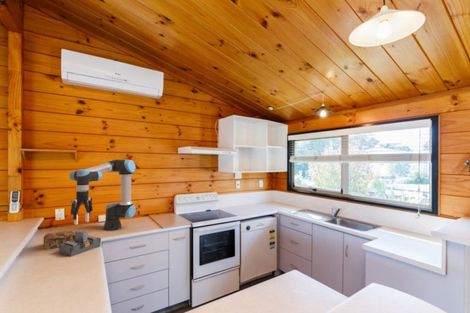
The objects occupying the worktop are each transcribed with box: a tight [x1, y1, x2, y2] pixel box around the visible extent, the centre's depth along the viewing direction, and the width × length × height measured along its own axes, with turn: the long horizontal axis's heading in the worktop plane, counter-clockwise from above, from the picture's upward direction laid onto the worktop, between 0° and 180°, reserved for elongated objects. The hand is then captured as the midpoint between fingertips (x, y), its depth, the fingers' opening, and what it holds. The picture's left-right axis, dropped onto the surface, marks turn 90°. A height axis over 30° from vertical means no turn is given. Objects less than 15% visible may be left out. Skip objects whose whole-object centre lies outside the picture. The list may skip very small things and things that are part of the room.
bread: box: [43, 230, 75, 250], centre depth 175 cm, size 19×11×10 cm, turn 132°
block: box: [74, 229, 89, 243], centre depth 168 cm, size 9×3×10 cm, turn 66°
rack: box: [58, 235, 102, 257], centre depth 167 cm, size 21×14×7 cm, turn 157°
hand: (81, 222), depth 168 cm, fingers open, 7 cm apart
